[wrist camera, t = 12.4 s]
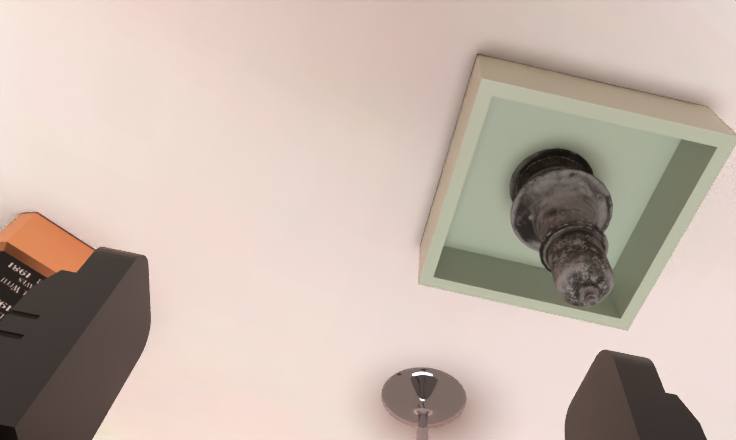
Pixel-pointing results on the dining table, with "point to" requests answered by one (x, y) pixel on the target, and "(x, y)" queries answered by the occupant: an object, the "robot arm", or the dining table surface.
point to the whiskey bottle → (34, 256)
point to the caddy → (609, 164)
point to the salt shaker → (565, 222)
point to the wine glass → (423, 398)
